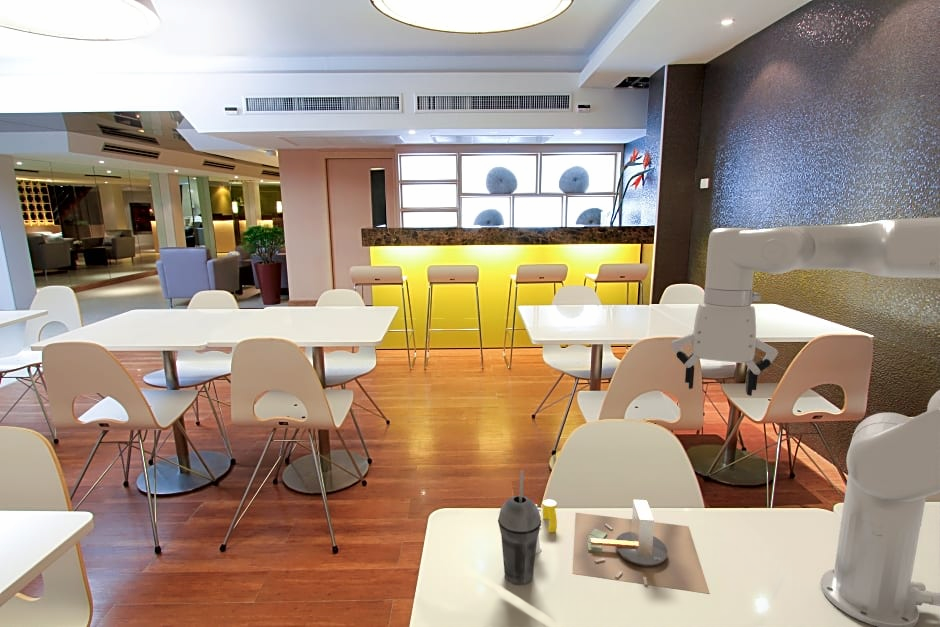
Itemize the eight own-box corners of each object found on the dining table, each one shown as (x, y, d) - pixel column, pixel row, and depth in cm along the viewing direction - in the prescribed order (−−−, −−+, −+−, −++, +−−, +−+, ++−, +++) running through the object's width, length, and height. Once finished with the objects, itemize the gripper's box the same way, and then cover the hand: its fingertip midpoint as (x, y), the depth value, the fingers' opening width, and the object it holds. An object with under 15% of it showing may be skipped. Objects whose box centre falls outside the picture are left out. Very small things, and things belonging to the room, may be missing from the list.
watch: (560, 538, 100) (560, 511, 99) (546, 539, 100) (546, 512, 98) (552, 521, 106) (552, 494, 105) (538, 522, 105) (539, 495, 104)
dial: (660, 537, 98) (663, 497, 96) (672, 569, 89) (675, 526, 87) (588, 532, 99) (590, 493, 98) (593, 562, 91) (594, 520, 89)
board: (688, 531, 102) (688, 524, 102) (709, 601, 83) (710, 593, 83) (575, 517, 107) (575, 510, 106) (572, 581, 88) (572, 572, 88)
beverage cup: (492, 590, 86) (492, 480, 82) (504, 563, 93) (505, 461, 89) (534, 601, 84) (536, 488, 80) (543, 572, 90) (546, 467, 87)
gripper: (779, 297, 91) (770, 389, 94) (675, 292, 98) (669, 378, 101) (787, 304, 84) (776, 403, 87) (674, 298, 91) (667, 390, 94)
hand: (719, 389), depth 94 cm, fingers open, 9 cm apart
